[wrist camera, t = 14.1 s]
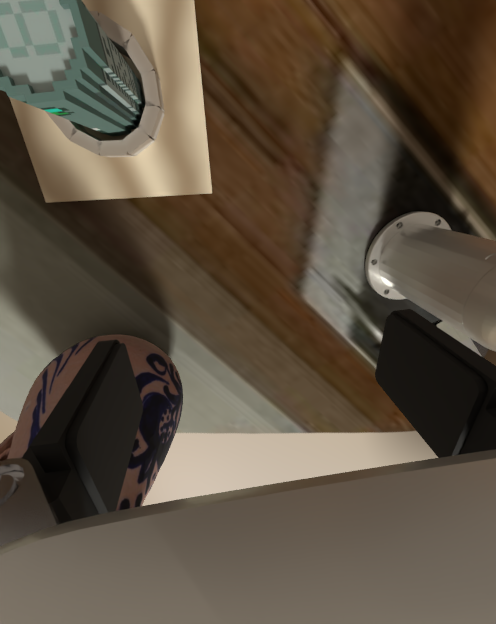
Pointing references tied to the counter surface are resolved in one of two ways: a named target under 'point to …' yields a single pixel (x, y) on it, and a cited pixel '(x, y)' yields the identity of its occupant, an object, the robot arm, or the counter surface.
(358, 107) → the counter surface
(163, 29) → the socket board
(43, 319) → the counter surface
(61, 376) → the ceramic pitcher
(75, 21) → the can
